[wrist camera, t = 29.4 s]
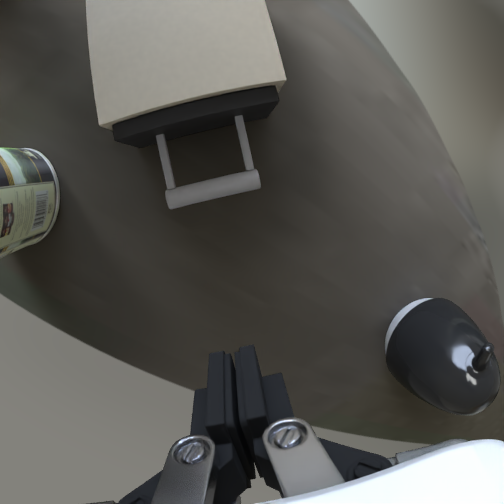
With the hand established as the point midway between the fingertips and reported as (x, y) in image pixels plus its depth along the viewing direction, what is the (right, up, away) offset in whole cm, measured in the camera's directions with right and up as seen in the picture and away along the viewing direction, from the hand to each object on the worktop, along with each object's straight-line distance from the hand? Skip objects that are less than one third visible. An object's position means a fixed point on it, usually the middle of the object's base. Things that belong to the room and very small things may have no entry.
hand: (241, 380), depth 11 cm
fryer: (-6, +23, +14) cm, 28 cm away
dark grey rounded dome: (+19, -4, +22) cm, 29 cm away
